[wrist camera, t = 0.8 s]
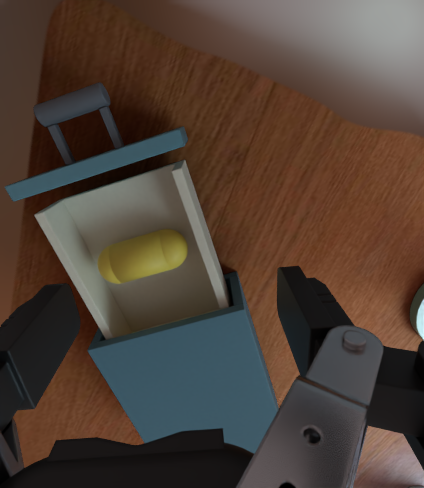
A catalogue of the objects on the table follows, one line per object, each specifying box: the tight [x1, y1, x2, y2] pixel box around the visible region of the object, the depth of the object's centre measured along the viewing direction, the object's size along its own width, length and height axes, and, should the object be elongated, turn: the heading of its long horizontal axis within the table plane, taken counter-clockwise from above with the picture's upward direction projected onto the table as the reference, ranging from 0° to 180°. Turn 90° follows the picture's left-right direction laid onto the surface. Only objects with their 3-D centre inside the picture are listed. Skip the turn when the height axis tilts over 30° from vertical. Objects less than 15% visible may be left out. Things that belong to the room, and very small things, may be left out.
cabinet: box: [87, 271, 279, 454], centre depth 33 cm, size 20×15×7 cm
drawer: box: [5, 83, 233, 340], centre depth 26 cm, size 23×14×5 cm, turn 17°
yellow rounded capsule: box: [97, 229, 188, 284], centre depth 26 cm, size 8×4×4 cm, turn 107°
